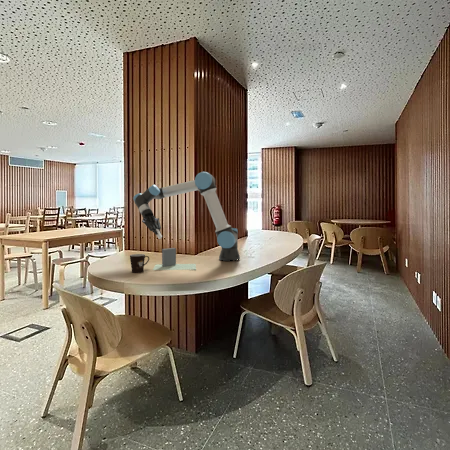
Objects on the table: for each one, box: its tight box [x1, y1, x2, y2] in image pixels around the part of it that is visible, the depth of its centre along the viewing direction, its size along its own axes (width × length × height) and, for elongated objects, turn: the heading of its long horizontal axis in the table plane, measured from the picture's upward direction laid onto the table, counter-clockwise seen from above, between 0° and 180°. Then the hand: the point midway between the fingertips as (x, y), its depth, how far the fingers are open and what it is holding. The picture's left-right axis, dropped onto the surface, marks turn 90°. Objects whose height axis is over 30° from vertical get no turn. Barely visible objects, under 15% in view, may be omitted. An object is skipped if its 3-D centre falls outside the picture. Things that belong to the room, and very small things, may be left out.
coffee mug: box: [129, 253, 150, 274], centre depth 184 cm, size 12×9×10 cm
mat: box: [152, 263, 197, 271], centre depth 197 cm, size 26×18×1 cm
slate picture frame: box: [161, 247, 177, 267], centre depth 200 cm, size 3×9×11 cm, turn 137°
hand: (160, 237), depth 205 cm, fingers closed
